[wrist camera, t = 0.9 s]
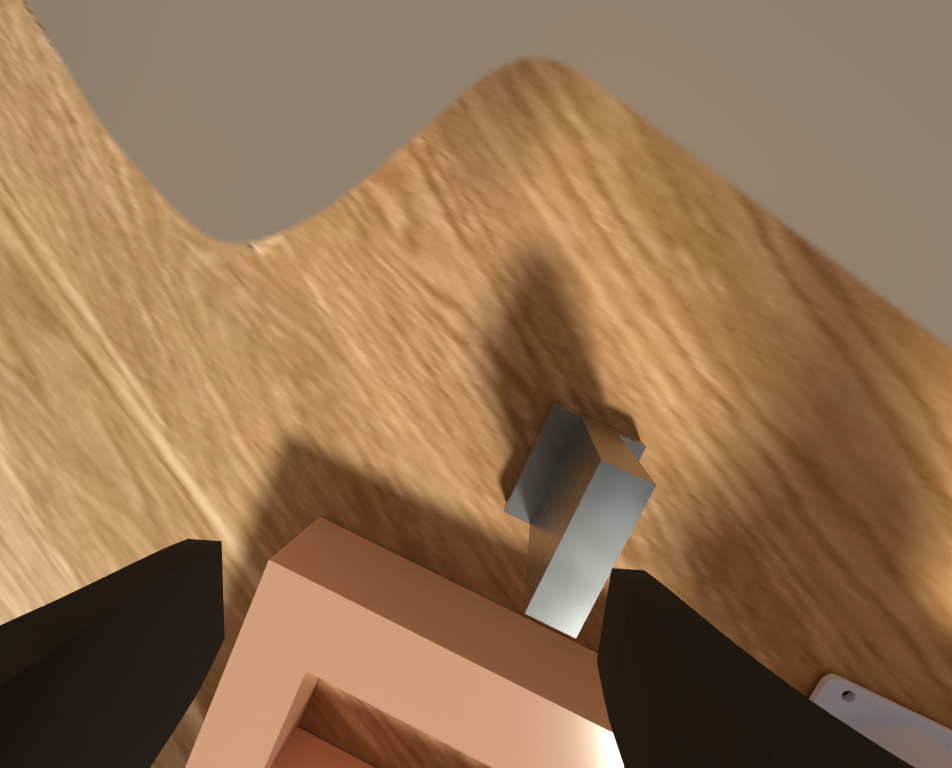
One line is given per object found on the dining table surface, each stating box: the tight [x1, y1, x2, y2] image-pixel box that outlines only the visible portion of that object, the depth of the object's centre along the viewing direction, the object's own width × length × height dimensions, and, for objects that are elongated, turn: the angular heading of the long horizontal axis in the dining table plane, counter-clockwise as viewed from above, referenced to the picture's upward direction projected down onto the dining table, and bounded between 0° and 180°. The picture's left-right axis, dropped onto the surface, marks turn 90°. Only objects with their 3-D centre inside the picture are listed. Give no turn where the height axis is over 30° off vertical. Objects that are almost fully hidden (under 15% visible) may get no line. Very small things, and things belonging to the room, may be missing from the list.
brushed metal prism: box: [504, 401, 656, 638], centre depth 18 cm, size 4×5×8 cm
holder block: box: [185, 517, 624, 768], centre depth 22 cm, size 18×14×4 cm
